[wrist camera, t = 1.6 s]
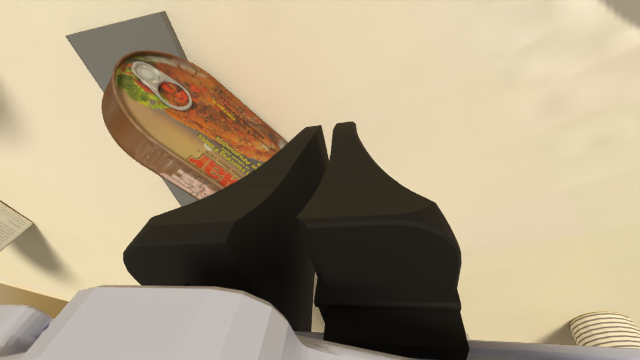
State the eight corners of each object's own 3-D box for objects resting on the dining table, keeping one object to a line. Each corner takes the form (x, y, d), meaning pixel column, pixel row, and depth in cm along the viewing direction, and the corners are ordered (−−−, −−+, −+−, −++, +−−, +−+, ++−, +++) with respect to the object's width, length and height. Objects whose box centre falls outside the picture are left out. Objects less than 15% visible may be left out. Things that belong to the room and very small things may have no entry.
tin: (319, 169, 25) (312, 242, 19) (295, 187, 27) (281, 261, 20) (166, 33, 19) (73, 71, 12) (145, 66, 20) (52, 116, 14)
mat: (251, 199, 29) (250, 203, 28) (184, 203, 31) (182, 207, 30) (164, 10, 19) (159, 12, 18) (72, 34, 20) (65, 35, 20)
